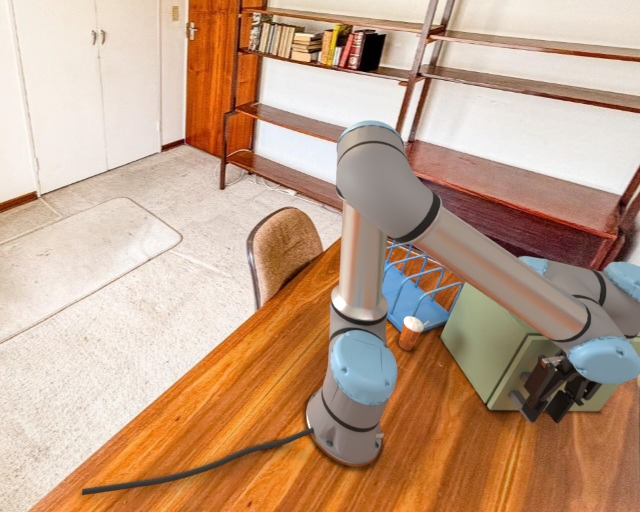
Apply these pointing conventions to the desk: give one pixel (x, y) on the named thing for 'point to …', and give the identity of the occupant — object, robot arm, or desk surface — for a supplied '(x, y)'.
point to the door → (511, 386)
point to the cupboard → (484, 339)
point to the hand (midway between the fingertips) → (539, 415)
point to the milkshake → (410, 332)
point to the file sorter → (412, 295)
